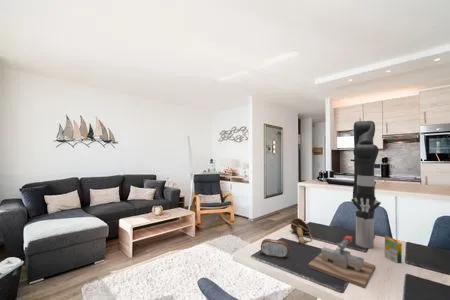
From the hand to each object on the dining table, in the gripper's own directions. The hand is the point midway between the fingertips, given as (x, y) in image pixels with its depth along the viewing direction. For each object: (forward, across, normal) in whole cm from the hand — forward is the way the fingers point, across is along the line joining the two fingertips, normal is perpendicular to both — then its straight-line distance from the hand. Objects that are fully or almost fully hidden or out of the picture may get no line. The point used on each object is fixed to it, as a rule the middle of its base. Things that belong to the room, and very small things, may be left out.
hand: (365, 219), depth 111 cm
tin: (+23, +38, +23) cm, 50 cm away
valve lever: (+15, +8, +5) cm, 18 cm away
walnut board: (+23, +8, +11) cm, 27 cm away
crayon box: (+23, -9, -17) cm, 30 cm away
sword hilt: (+24, +39, -11) cm, 47 cm away
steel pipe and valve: (+22, +8, +11) cm, 25 cm away
